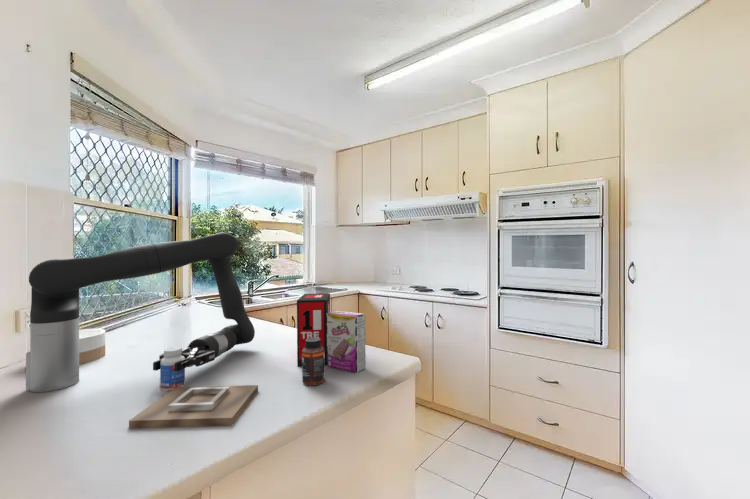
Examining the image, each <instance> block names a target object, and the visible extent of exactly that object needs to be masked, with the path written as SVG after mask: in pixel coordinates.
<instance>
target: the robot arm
mask: <svg viewBox="0 0 750 499" xmlns="http://www.w3.org/2000/svg"><path fill="white" fill-rule="evenodd" d="M238 248H239V242H238V240H237V238H236V237H235V236H234V235H233V234H231V233H228V232H217V233H215V234H209V235H207V236H202V237H198V238H194V239H188V240H173V241H165V242H157V243H149V244H143V245H136V246H131V247H126V248H124V249H123V248H122V249H119V250H117V251H113V252H112V251H111V252H109V253H105V254H102V255H96V256H89V257H80V258H79V257H78V258H67V259H58V258H57V259H55V258H54V259H49V260H48V259H47V260H44V261H42V262H40V263H38V264H36V265H35V266H34V267H33V268H32V269H31V271H30V272H29V275H28V283H29V285H30V286H31V294H30V295H31V296H30V297H31V300H30V313H29V317H30V318H29V322H30V323H29V324H30V325H29V336H30V337H29V338H30V340H29V343H30V344H29V351H27V352H26V353H25V391H30V392H32V393H45V392H51V391H52V392H53V391H56V390H60V389H64V388H67V387H70V386H73V385H75V384H77V383H78V382H79V381H80V365H79V330H80V289H81V288H86V287H90V286H93V285H96V284H101V283H104V282H110V281H118V280H119V281H120V280H128V279H135V278H139V277H140V278H141V277H146V276H153V275H156V274H161V273H165V272H168V271H172V270H175V269H178V268H182V267H184V266H187V265H190V264H194V263H197V262H202V261H208V262H209V265H210V267H211V270H212V272H213V276H214V278H215V282H216V286H217V290H218V295H219V300H220V305H221V309H222V313H223V314H222V315H223V317H224V318H225V319H226V320H233V321H235V322H236V324H231V325H227V326H224V327H223V328H222V329H220V330H218V331H216V332H212V333H208V334H205V335H203V336H200V337H198V338H195V339H194V340H192V341H190V343H189V344H188V345H187V347H184V348H182V354H181V355H182V356H184V357H185V359H183V360H180V361H178V362H176V363H175V371H180V370H182V369H184V368H185V369H186V368H192V367H193V366H195V367H196V368H198V367H200V366H203V365H207V364H208V363H211V362H213V361H215V360H216V359H217V358H219V357H220V356H222V355H223V354H224V353H227V352H228V351H230V350H231V349H233V348H234V347H235V346H238V345H243V344H248V343H251V342H252V341H253V340H254V338H255V335H256V334H255V333H256V332H255V328H254V325H253V322H252V321H251V320H250V317H249V315H248V313H247V311H246V309H245V304H244V299H243V296H242V295H243V294H242V292H241V289H240V286H239V283H238V282H237V280H236V277H235V275H234V272H233V267H232V262H231V258H232V257H233V255H234V256H235V254H236V253H237V251H238ZM163 358H165V356H164V352H163V353H162V354H160V355H159V359H158V360H155V361H154V362H152V363H153V364H152V371H160V363H161V360H162V359H163Z"/></svg>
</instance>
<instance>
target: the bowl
mask: <svg viewBox="0 0 750 499" xmlns="http://www.w3.org/2000/svg"><path fill="white" fill-rule="evenodd" d="M105 356H106V329H102V328H85V329H84V328H83V329H79V366H80V365H83V364H88V363H91V362H93V361H94V362H95V361H97V360H99V359H101V358H103V357H105Z"/></svg>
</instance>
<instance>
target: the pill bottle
mask: <svg viewBox="0 0 750 499" xmlns="http://www.w3.org/2000/svg"><path fill="white" fill-rule="evenodd" d="M182 349H183V347H181V346H175V347H168V348H165V349H164V350H163V353H164V356H165V358H163V359H162V360H161V363H160V369H159V372H160V373H159V374H160V375H159V376H160V378H159V381H160V382H159V386H160V387H159V388H160V390H161V391H164V392H170V391H171V390H173V389H174V388H175V387H185V383H186V382H185V380H186V376H185V375H186V368H184V369H182V370H180V371H175V363H176V362H178V361H180V360H183V359H185V357H184V356H182V355H181V354H182Z"/></svg>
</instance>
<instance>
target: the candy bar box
mask: <svg viewBox="0 0 750 499" xmlns="http://www.w3.org/2000/svg"><path fill="white" fill-rule="evenodd" d="M326 367H327V368H332V369H337V370H340V371H345V372H349V373H355V374H359V373H360V372H362V371H364V370H365V369H366V314H365V313H361V312H351V311H345V310H336V309H335V310H333V311H330V312H328V313H327V366H326Z"/></svg>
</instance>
